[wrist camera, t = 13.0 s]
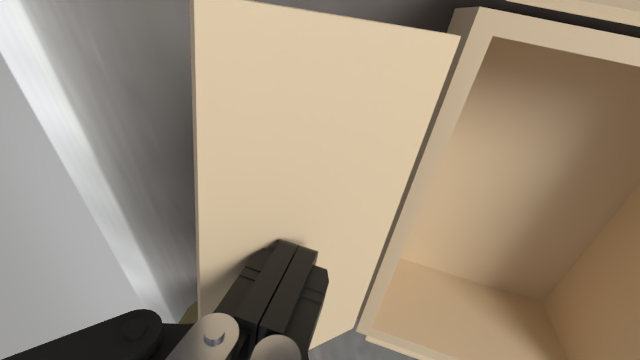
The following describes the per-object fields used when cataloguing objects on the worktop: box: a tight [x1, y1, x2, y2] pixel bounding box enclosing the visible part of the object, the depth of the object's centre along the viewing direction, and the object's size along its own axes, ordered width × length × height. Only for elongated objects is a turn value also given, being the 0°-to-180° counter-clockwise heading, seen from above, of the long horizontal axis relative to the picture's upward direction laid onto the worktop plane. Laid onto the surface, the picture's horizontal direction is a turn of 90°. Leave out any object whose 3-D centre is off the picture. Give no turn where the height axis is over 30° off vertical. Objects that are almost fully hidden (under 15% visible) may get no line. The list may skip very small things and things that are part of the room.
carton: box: [356, 0, 640, 360], centre depth 18 cm, size 23×14×8 cm, turn 170°
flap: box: [189, 0, 461, 350], centre depth 13 cm, size 17×1×9 cm
